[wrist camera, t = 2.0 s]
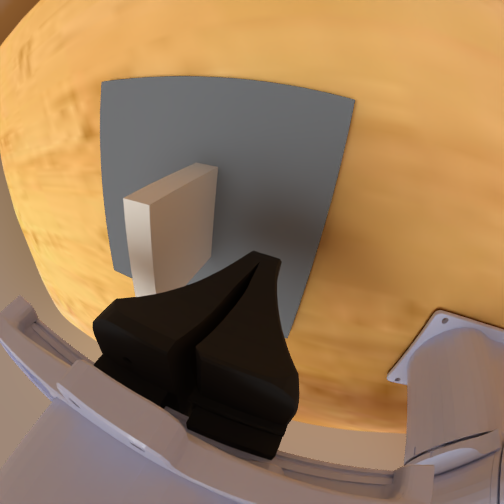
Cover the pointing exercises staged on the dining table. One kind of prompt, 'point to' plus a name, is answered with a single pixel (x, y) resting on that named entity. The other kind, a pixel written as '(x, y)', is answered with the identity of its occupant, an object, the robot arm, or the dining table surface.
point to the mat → (230, 164)
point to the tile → (170, 228)
